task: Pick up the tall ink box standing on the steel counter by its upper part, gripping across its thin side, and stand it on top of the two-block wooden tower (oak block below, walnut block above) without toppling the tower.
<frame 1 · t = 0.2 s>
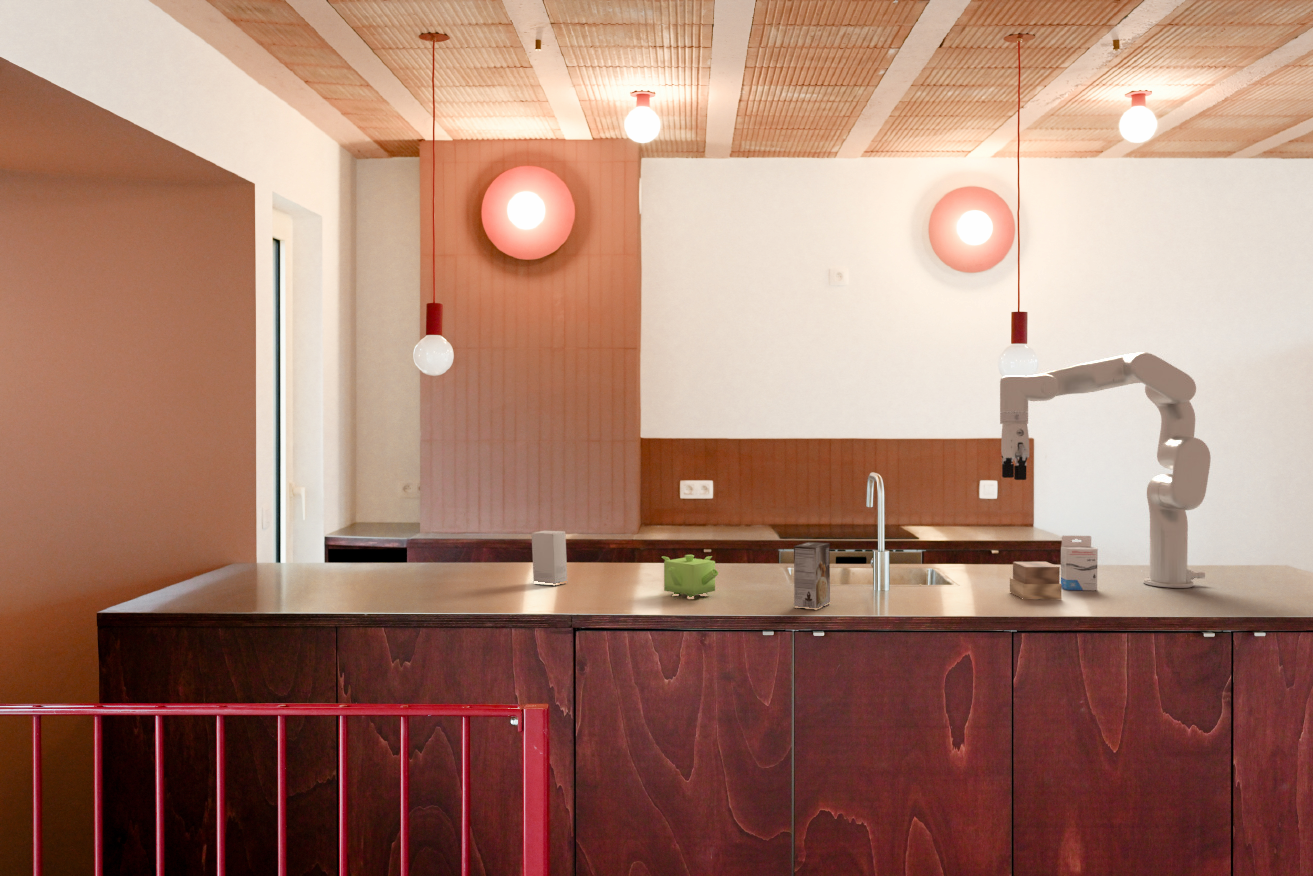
hand: (1014, 478, 269), 31 cm above the countertop, tool pointing down, fingers open, 9 cm apart
tower base: (1035, 597, 254), on the countertop, touching tower top
ink box: (1078, 589, 264), on the countertop
tower top: (1035, 581, 254), point 4 cm above the countertop, touching tower base
coffee box: (812, 607, 242), on the countertop
kettle: (690, 596, 258), on the countertop
skincare box: (549, 585, 277), on the countertop
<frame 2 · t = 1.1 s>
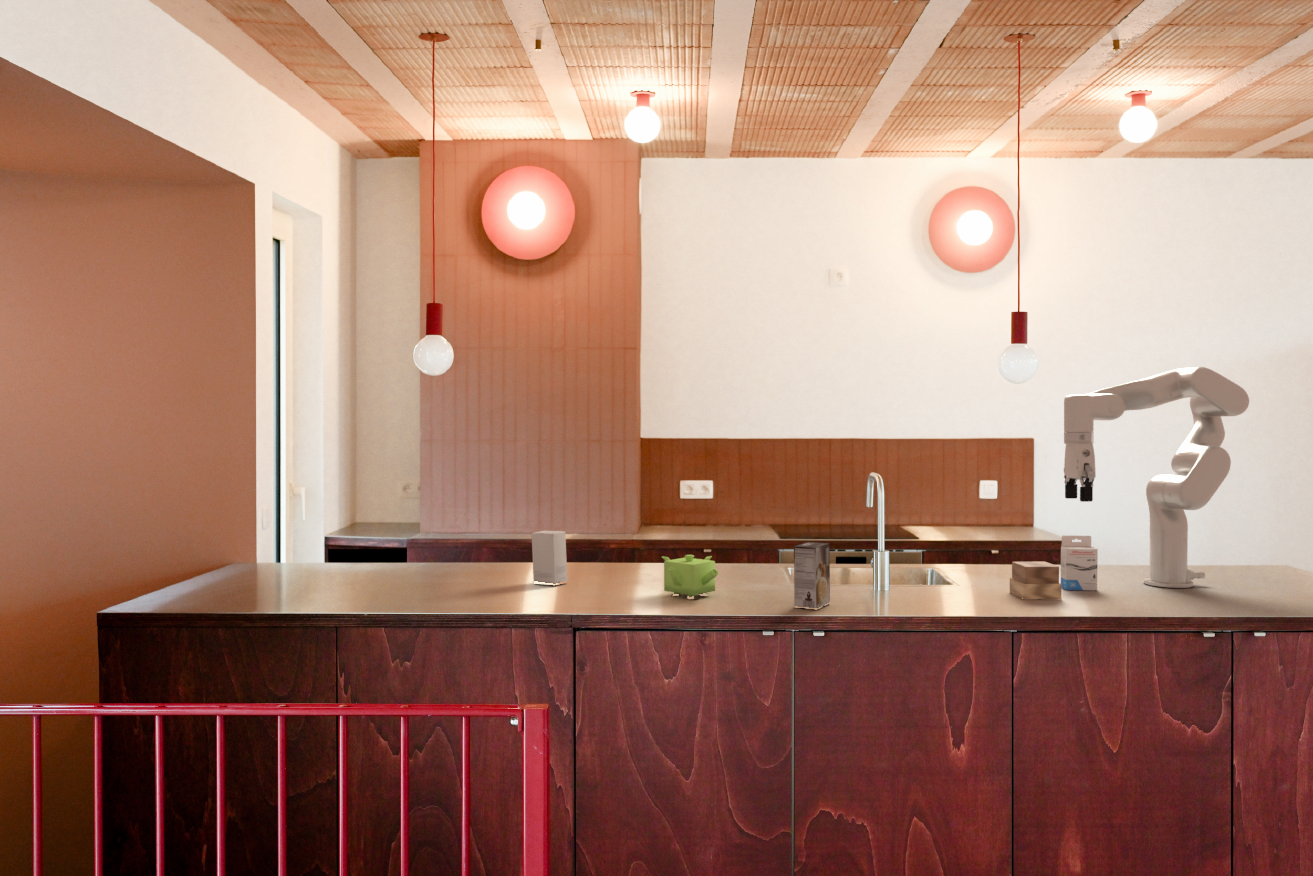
hand: (1078, 499, 263), 25 cm above the countertop, tool pointing down, fingers open, 9 cm apart
tower base: (1035, 597, 254), on the countertop
tower top: (1035, 580, 254), point 4 cm above the countertop
everything else where it was.
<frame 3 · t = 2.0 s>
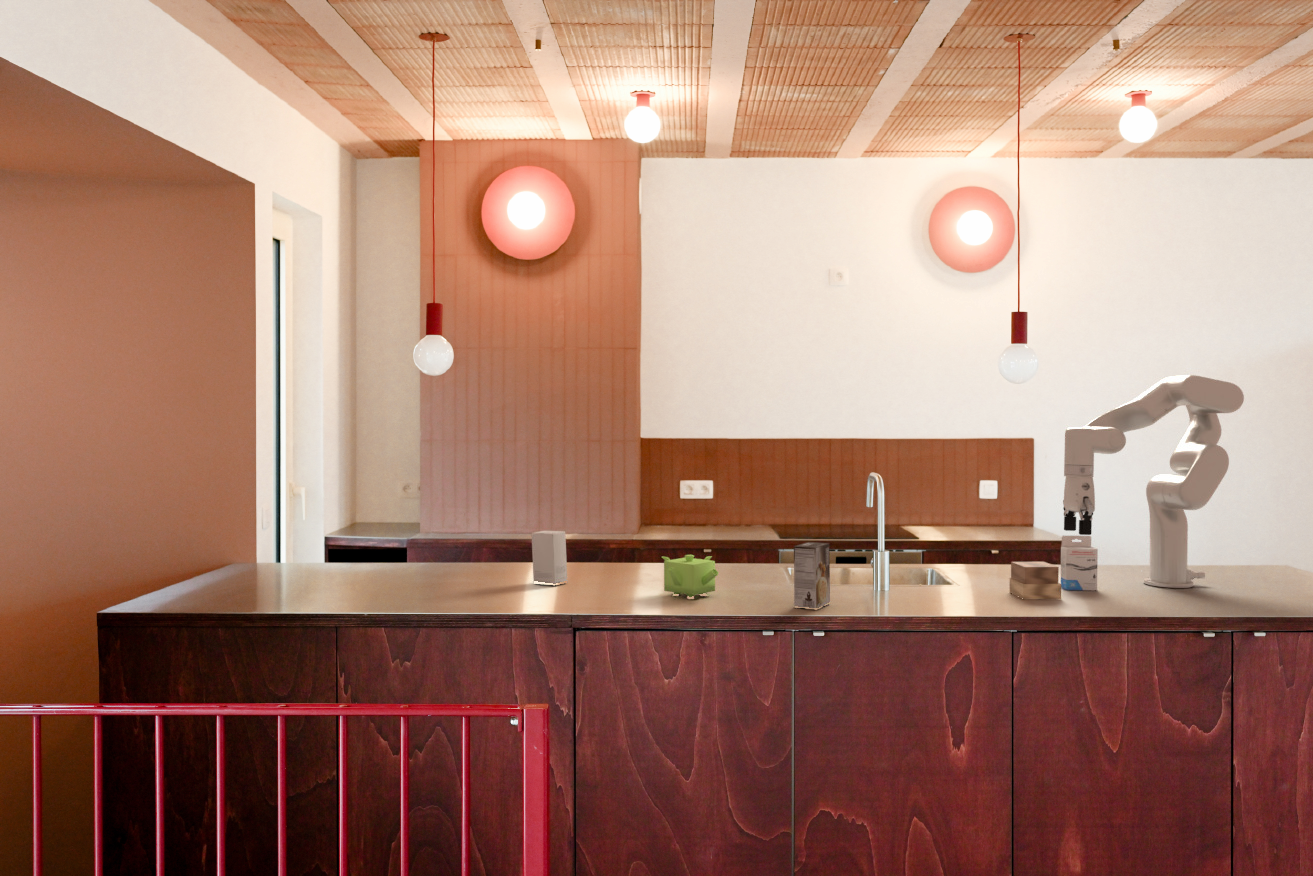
hand: (1077, 532, 263), 16 cm above the countertop, tool pointing down, fingers open, 9 cm apart
tower base: (1034, 597, 254), on the countertop, touching tower top
tower top: (1034, 581, 254), point 4 cm above the countertop, touching tower base
everything else where it was.
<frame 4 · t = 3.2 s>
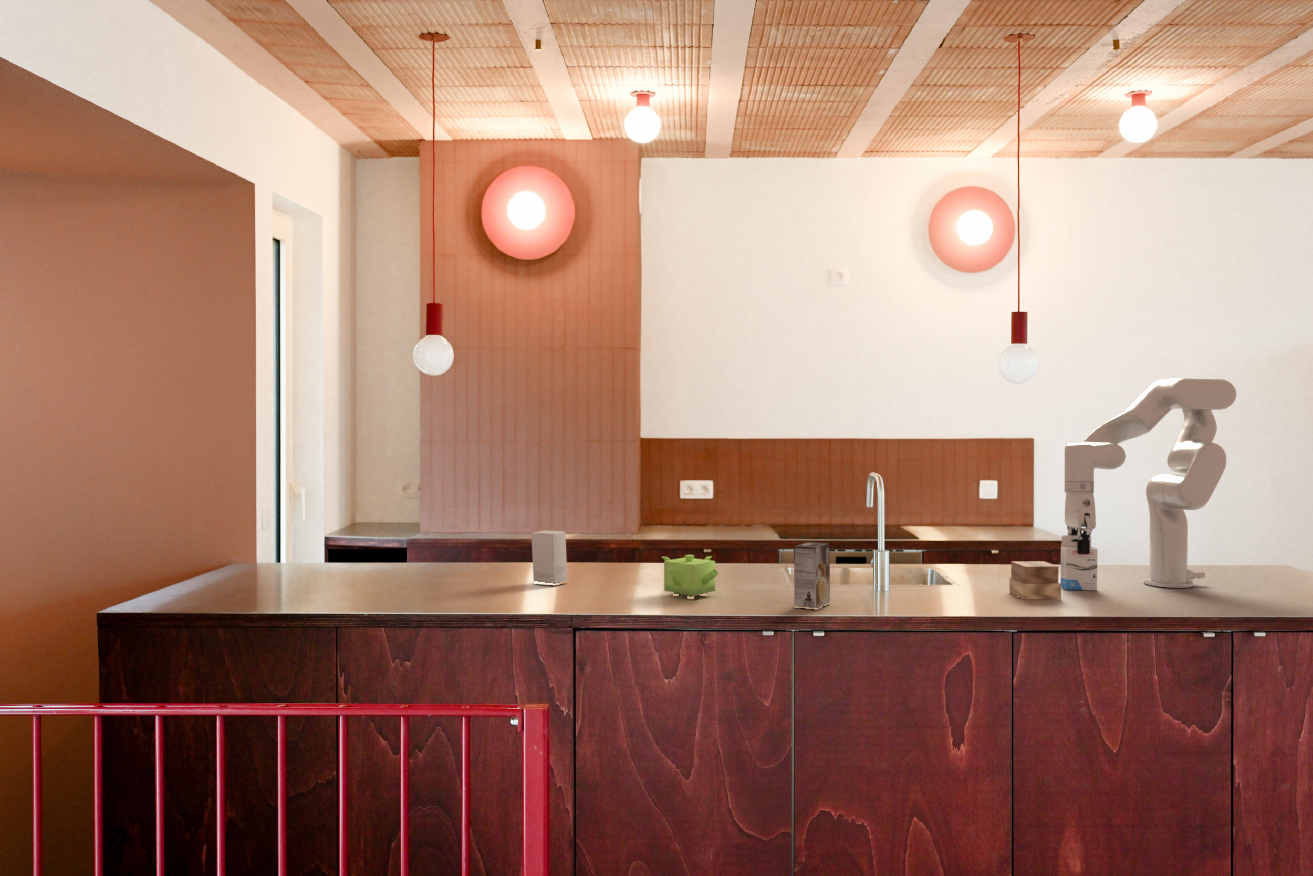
hand: (1078, 551, 264), 10 cm above the countertop, tool pointing down, fingers closed on ink box, 5 cm apart
ink box: (1078, 589, 264), on the countertop, touching gripper
everything else where it was.
when the fingers open (21 cm above the countertop, at t = 6.7 s): ink box drops 2 cm, resting on tower top.
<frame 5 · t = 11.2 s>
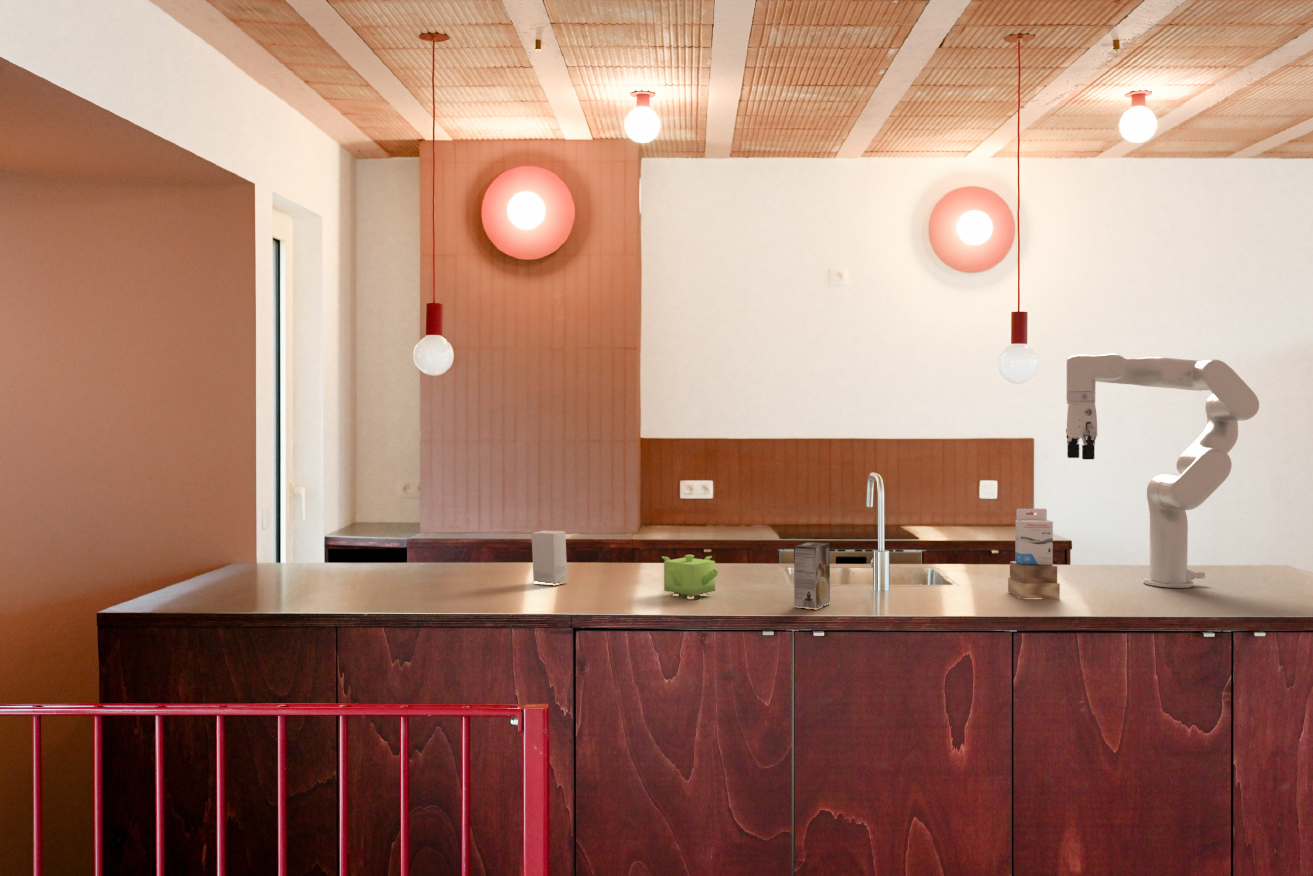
hand: (1080, 458, 269), 36 cm above the countertop, tool pointing down, fingers open, 9 cm apart
ink box: (1033, 564, 254), point 8 cm above the countertop, touching tower top
tower top: (1033, 580, 255), point 4 cm above the countertop, touching ink box, tower base
everything else where it was.
at the end: ink box inside the target area on the tower base (0.1 cm from its centre), point 8.8 cm above the tower base's base; ink box tilted 0°; tower top moved 0.9 cm from its start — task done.
